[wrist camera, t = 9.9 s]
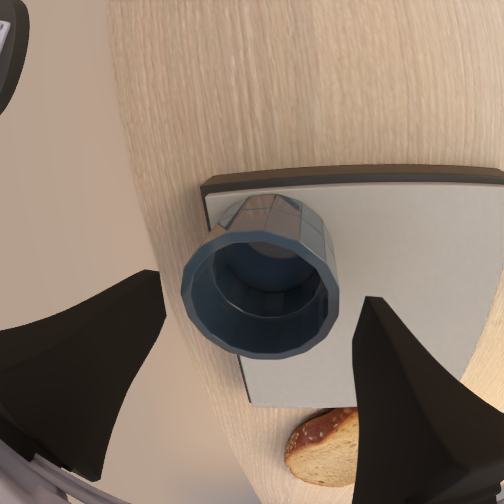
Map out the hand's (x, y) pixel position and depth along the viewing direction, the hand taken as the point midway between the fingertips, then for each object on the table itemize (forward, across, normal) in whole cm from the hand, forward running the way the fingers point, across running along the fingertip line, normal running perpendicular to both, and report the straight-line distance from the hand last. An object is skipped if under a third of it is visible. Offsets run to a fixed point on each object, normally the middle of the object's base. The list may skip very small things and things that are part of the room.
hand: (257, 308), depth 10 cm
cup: (+5, 0, 0) cm, 5 cm away
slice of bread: (+8, -10, +26) cm, 28 cm away
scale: (+8, -6, +4) cm, 11 cm away
